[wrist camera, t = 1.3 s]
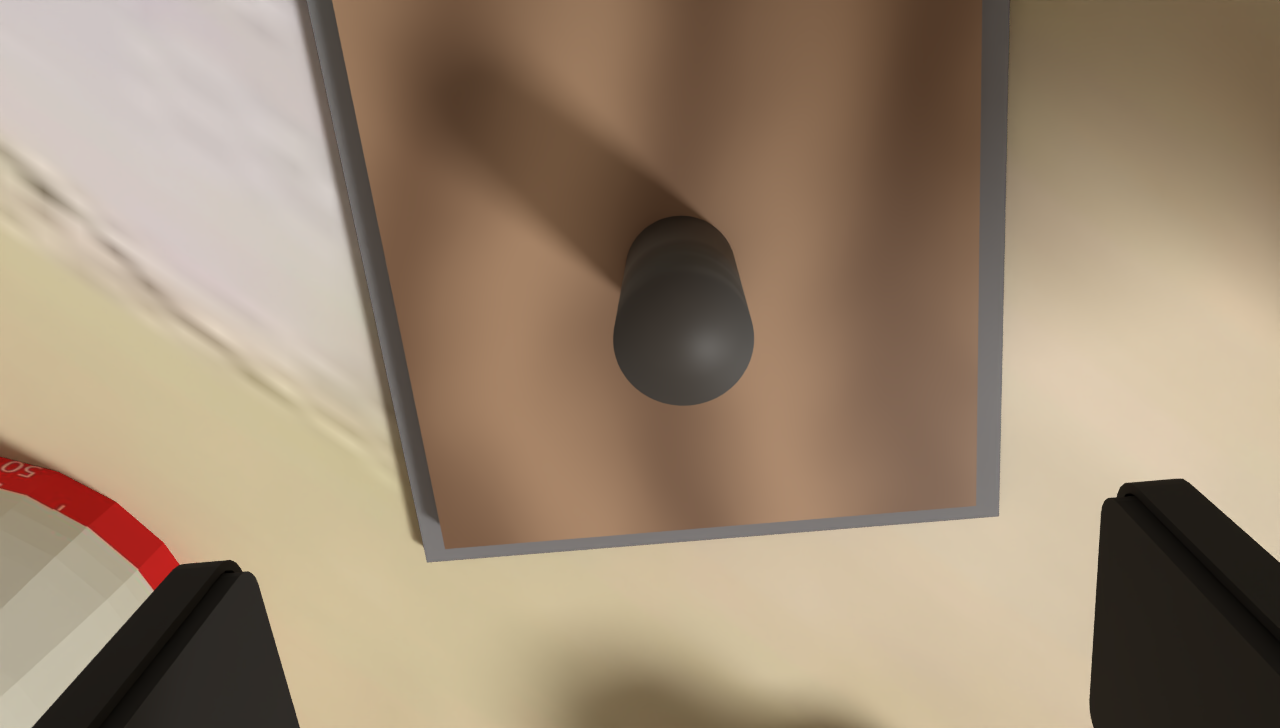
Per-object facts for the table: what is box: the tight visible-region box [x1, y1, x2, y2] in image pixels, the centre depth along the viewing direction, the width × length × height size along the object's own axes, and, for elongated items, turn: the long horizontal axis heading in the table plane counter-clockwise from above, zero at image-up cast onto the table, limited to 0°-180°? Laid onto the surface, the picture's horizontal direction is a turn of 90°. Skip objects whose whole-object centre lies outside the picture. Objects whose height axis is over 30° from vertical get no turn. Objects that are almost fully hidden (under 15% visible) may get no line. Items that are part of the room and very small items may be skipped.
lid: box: [332, 0, 982, 549], centre depth 23 cm, size 16×16×7 cm
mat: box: [307, 0, 1010, 562], centre depth 27 cm, size 18×18×1 cm
